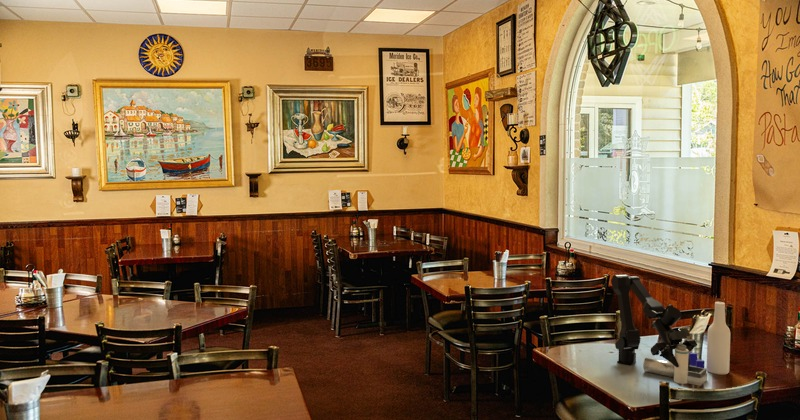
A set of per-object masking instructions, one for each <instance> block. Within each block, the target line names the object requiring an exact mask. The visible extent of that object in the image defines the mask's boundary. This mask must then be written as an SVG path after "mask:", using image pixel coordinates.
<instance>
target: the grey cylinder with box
mask: <svg viewBox="0 0 800 420" xmlns="http://www.w3.org/2000/svg"><path fill="white" fill-rule="evenodd" d="M642 368H643V371H644V372H646V373H651V374H656V375H661V376H666V377H670V378H674V365H673V364H672V363H670V362H669V361H668V360H662V359H657V358H652V357H645V358H644V360H643V367H642ZM707 372H708V370H707V369H706V368H705V367H704V368H700V367H695V366H688V382H687V383H686V384H690V385H695V386H699V387H701V386H702V385H704V383H705V382H706V381H708V373H707Z"/></svg>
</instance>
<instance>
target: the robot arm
mask: <svg viewBox="0 0 800 420" xmlns="http://www.w3.org/2000/svg"><path fill="white" fill-rule="evenodd" d="M610 284H611V288H612V290H613V292H614V293H615V294H616V295H617V302H618V309H619V317H620V322H621V329H620V331H619V338H618V340H617V341H616V342H615V343H614V346H615V349H616V350H618V358H617V359H618V360H617V361H616V363H618V364H622V365H628V366H632V365H634V364H635V363H637V353H636V350H639V347H640V345H641V340H642V338H641V335H640V330H639V329H636V328H635V325H634V321H633V320H634V319H633V312H632V306H631V300H630V292H631V290H632V292H633V293H634V295H635V296H636V297H637V299H638V300H639V301H640V303H641V305H642V311H643V313H644V315H645V316H646V318H647V319H649V320H653V321H651V322H652V323H651V325H650V327H651V329H655V330H656V332H657V334H658V335H659V337H658V340H659V341H660V342H656V343H655V344H654V345H653V346H652V347H650V353H651V355H652V356H659V357H662V358H663V359H665V361H668V362H670V363H672V364H673V365H674V366H676V367H679V365H678V362H677V360H676V358H675V353H674V350H675V348H677V345H679V344H681V345H686V349H688V350H689V352H691V351H692V350H693V349H695V347H696V346H698V343H697V341H696V340H695V339H692V338H691V339H688V337H689V336H690V335H691V334H690V331H689V329H688V328H686V327H685V328H681V329H680V330H676V329H673V328H672V326H674V325H675V324H677V322H678V321H679V320H680V319H681V318H682V312H681V310H679V309H678V308H677V307H675V306H674V305H673V304H668V305H666V307H664V305H663V304H661V302H660V301H658V300H657V299H654V297H652V295H651V294H650V293H649V291H648V290H647V289H646V288H645V286H644V285H643V283H642V282H641V279H640V277H639V276H636V275H635V276H633V275H632V276H629V275H628V274H615V275H613V276H612V278H611V279H610ZM655 319H656V320H655ZM684 339H685V340H684ZM683 340H684V341H683ZM688 366H690V359H689V354H688Z"/></svg>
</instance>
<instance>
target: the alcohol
mask: <svg viewBox="0 0 800 420" xmlns="http://www.w3.org/2000/svg"><path fill="white" fill-rule="evenodd" d="M713 313H714V314H713V321H712V323H711V324H710V325H709V327H708V329H707V340H706V342H707V345H706V368H705V369H707V372H708V373H710V374H714V375H723V376H724V375H727V374H728V373H729V372H730V362H731V359H730V358H731V357H730V355H731V330H730V328H729V326H728V325H727V323H726V303H725V302H724V301H723V302H722V301H715V302H714V312H713Z"/></svg>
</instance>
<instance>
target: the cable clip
mask: <svg viewBox="0 0 800 420" xmlns="http://www.w3.org/2000/svg"><path fill="white" fill-rule="evenodd" d="M689 359H690V366H695V367H700V368H705V362H706V361H705V360H704V359H698V353H697V352H689Z"/></svg>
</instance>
